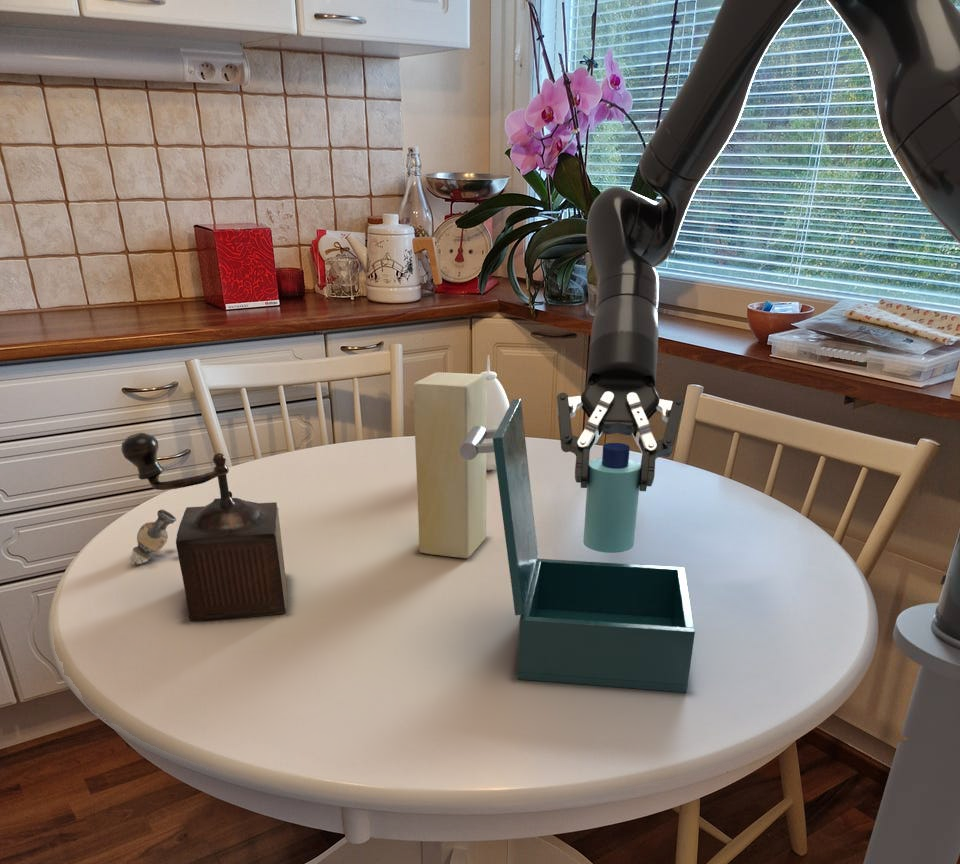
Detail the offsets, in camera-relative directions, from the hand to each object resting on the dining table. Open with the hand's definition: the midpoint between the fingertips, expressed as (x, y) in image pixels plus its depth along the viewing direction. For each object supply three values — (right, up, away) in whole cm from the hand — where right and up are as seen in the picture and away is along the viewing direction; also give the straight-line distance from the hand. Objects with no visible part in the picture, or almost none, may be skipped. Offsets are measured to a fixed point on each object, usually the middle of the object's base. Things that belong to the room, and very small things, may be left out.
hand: (613, 485), depth 90 cm
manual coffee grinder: (-44, -12, +5) cm, 46 cm away
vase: (-54, -6, +16) cm, 57 cm away
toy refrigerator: (-18, -4, +20) cm, 27 cm away
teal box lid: (-10, -4, -11) cm, 15 cm away
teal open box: (-2, -17, -5) cm, 18 cm away
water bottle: (0, -6, +5) cm, 7 cm away
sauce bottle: (-13, +12, +49) cm, 52 cm away
